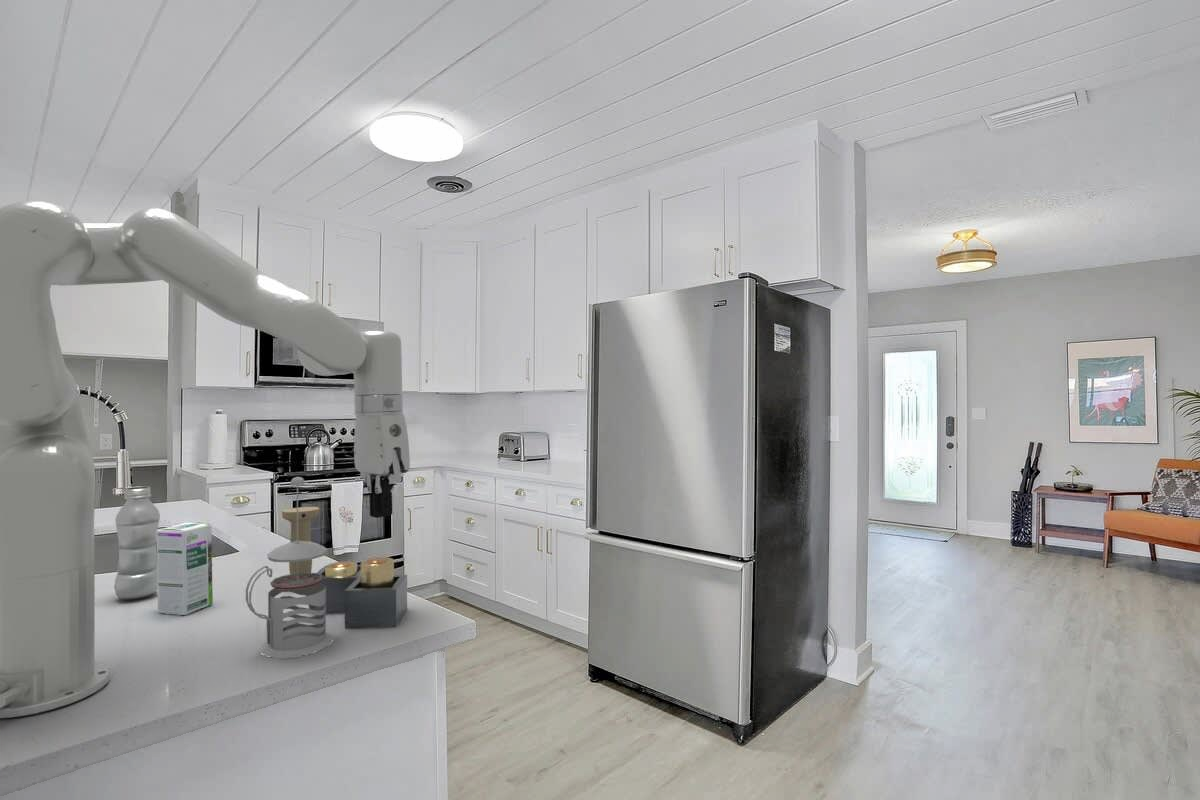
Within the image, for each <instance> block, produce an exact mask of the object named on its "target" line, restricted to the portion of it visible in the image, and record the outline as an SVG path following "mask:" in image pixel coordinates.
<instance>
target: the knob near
mask: <svg viewBox="0 0 1200 800" xmlns="http://www.w3.org/2000/svg"><path fill="white" fill-rule="evenodd" d="M360 565H361V588H392V586H393V585H394V575H395V559H393V558H391V557H384V556H380V557H371V558H366V559H364V560H362V561H360Z"/></svg>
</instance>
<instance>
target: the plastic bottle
mask: <svg viewBox="0 0 1200 800" xmlns="http://www.w3.org/2000/svg"><path fill="white" fill-rule="evenodd" d="M151 497H152V494H151V486H148V485H147V486H145V485H144V486H131V487H127V488H126V487H125V489H124V500H126V501H125V503H124V504H123V505H122V507H121V508H120V509H119V511H118V512H117V514H116V517H115V526H116V527H115V528H116V533H117V540H118V555H119V556H118V563H117V574H116V576H115V579H114V580H115V581H114V586H113V587H114V593H115V596H116V597H117V598H118V599H120V600H137V599H138V598H139V599H142V598H145V597H150V596H151V595H154V594H155V593H156V592H157V591H158V588H157V530H158V529H159V525H160V519H161V513H160V511H159V509H158V507H156V505H155V504H154V503H153V502H152V501H151V500H150V498H151Z"/></svg>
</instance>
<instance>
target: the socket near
mask: <svg viewBox="0 0 1200 800" xmlns="http://www.w3.org/2000/svg"><path fill="white" fill-rule="evenodd" d="M407 610H408V575H407V574H394V585H393V586H392V588H361V576H359V577H358V578H357V579H356V580H355V581H354V582H353V583H352V584H351V585H350V586H349V587H348V588H347V589H346V590H345V613H344V629H362V628H364V627H370V628H396V627H398V625H399V623H400V622H401V620H402V618H403V616H404V615H405V613H406V612H407Z"/></svg>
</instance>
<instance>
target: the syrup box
mask: <svg viewBox="0 0 1200 800" xmlns="http://www.w3.org/2000/svg"><path fill="white" fill-rule="evenodd" d="M212 533H213V531H212V524H211V523H207V522H197V521H196V522H194V521H193V522H183V523H181V524H177V525H173V526H168V527H164V528H158V530H157V539H156V560H157V588H158V589H157V612H158V613H159V614H162V613H167V614H166V615H169V614H177V615H176V616H181V615H186V616H188V615H189V614H192V613H193V612H197V611H199V610H201V608H202V609H204V608H207V607H210V606H212V605H213V603H214V602H213V601H214V599H213V598H214V597H213V549H212V548H213V547H212V545H213V539H212V538H213V537H212V536H213V535H212ZM196 610H197V611H196ZM187 614H188V615H187Z"/></svg>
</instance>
